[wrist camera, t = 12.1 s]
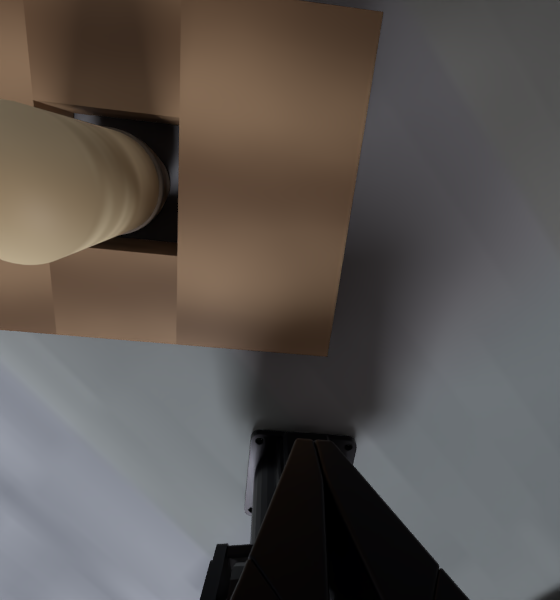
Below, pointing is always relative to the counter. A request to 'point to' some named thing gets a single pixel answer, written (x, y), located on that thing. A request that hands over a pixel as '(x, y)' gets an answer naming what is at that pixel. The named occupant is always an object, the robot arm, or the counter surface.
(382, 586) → the robot arm
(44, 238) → the birch peg
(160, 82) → the walnut board
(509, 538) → the counter surface
